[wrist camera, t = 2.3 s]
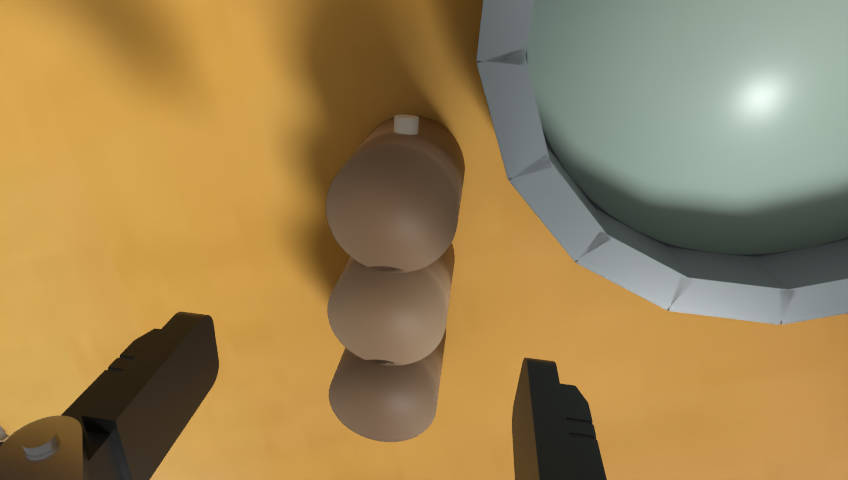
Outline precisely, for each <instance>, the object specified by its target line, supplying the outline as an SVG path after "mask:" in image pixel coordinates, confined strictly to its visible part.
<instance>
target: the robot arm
mask: <svg viewBox="0 0 848 480" xmlns="http://www.w3.org/2000/svg"><path fill="white" fill-rule="evenodd" d="M218 368H219V359H218V352H217V345H216V338H215V331H214V324H213V320H212V318H211V317H210V316H209V315H203V314H195V313H187V312H178V313H176V314H175V315H174V316H173V317H172V318H171V319H170V320H169V322H168V323H167V324H166V325H165V326H164V327H163V328H162V329H153V330H151V331H150V332H148V333H146V334H145V335H143V336H141V337H139V338H138V339H136V340H134V341H133V342H132V343H131V344H130V345H129V346H128V347H127V348H126V349H125V350H124V352H123V353H122V354H121V355H120V358H117V359H116V360H115V361H114V362H113V363H112V364H111V365H110V366H109V367H108V370H105V371H104V372H103V373H102V374H101V375H100V376H99V377H98V378H97V379H96V380H95V381H94V382H93V383H92V384H91V385H90V386H89V387H88V388H87V389H86V390H85V391H84V392H83V393H82V394H81V395H80V396H79V397H78V398H77V399H76V400H75V402H74V403H73V404H72V405H71V406H70V407H69V408H68V409H67V410H66V411H65V412H64V413H63V414H62V415H61V416H51V417H46V418H42V419H39V420H36V421H34V422H32V423H29V424H27V425H25V426H24V427H22V428H20V429H19V430H17V431H16V432H14V433H13V434H12V435H11V436H10V437H9V438H8V439H7V440H6V441H4V442H0V480H149V479H150V478H151V477H152V475H153V474H154V472H155V471H156V469H157V468H158V466H159V465H160V463H161V462H162V460H163V459H164V457H165V456H166V454H167V453H168V451H169V450H170V448H171V447H172V445H173V444H174V442H175V441H176V440H177V438H178V437H179V435H180V434H181V432H182V431H183V429H184V428H185V426H186V425H187V423H188V422H189V420H190V419H191V417H192V416H193V414H194V413H195V411H196V410H197V408H198V407H199V406H200V404H201V403H202V401H203V400H204V398H205V397H206V395H207V394H208V392H209V391H210V389H211V388H212V386H213V384H214V382H215V380H216V377H217V374H218ZM512 435H513V452H514V469H515V480H607V479H606V475H605V471H604V467H603V463H602V458H601V454H600V450H599V446H598V442H597V440H596V434H595V430H594V425H592V417H591V413H590V409H589V405H588V402H587V401H586V399H585V398H584V397H583V395H582V394H581V393H580V391H579V390H578V389H577V387H576V386H573V385H566V384H560V383H559V377H558V372H557V366H556V363H555V362H554V361H547V360H539V359H531V358H524V360H523V363H522V368H521V373H520V377H519V382H518V387H517V391H516V396H515V401H514V406H513V415H512Z"/></svg>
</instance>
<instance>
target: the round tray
mask: <svg viewBox="0 0 848 480" xmlns="http://www.w3.org/2000/svg"><path fill="white" fill-rule="evenodd" d="M476 61H477V67H478V70H479V74H480V78H481V81H482V85H483V89H484V93H485V96H486V100H487V104H488V107H489V111H490V115H491V118H492V122H493V126H494V130H495V133H496V137H497V141H498V144H499V148H500V152H501V155H502V159H503V163H504V167H505V170H506V174H507V178H508V179H509V181H510V183H511V184H512V185H513V186H514V188H515V189H516V190H517V191H518V193H519V194H520V195H521V196H522V197H523V199H524V200H525V201H526V202H527V204H528V205H529V206H530V207H531V209H532V210H533V211H534V212H535V213H536V215H537V216H538V217H539V218H540V220H541V221H542V222H543V223H544V225H545V226H546V227H547V228H548V230H549V231H550V232H551V233H552V234H553V236H554V237H555V238H556V239H557V241H558V242H559V243H560V244H561V246H562V247H563V248H564V249H565V250H566V252H567V253H568V254H569V255H570V257H571V258H572V259H573V260H574V262H576V263H577V264H579V265H581V266H583V267H585V268H587V269H589V270H590V271H592V272H594V273H596V274H598V275H600V276H602V277H604V278H606V279H608V280H610V281H612V282H614V283H615V284H617V285H619V286H621V287H623V288H625V289H627V290H629V291H631V292H633V293H635V294H637V295H639V296H640V297H642V298H644V299H646V300H648V301H650V302H652V303H654V304H656V305H658V306H660V307H662V308H664V309H665V310H667V309H668V310H669V311H674V312H682V313H690V314H698V315H706V316H714V317H722V318H730V319H738V320H746V321H754V322H762V323H770V324H778V325H779V324H780V323H781V324H788V323H794V322H800V321H806V320H811V319H817V318H823V317H829V316H835V315H841V314H846V313H848V0H483V7H482V16H481V24H480V33H479V42H478V51H477V59H476Z"/></svg>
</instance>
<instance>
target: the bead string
mask: <svg viewBox="0 0 848 480" xmlns="http://www.w3.org/2000/svg"><path fill="white" fill-rule="evenodd" d="M464 171H465V166H464V158H463V154H462V151H461V149H460V146H459V145H458V143H457V141H456V140H455V138H454V137H453V135H452V134H451V133H450V132H449V131H448V130H447V129H445V128H444V127H443V126H442V125H440V124H438V123H437V122H435V121H433V120H431V119H428V118H425V117H421V116H415V115H409V114H398V115H395V116H394V118H391V119H389V120H387V121H385V122H383V123H381V124H380V125H379V126H377V127H376V128H375V129H374V130H373V131H372V132H371V133H370V134H369V136H368V137H367V138H366V139H365V140H364V142H363V143H362V144H361V145H360V146H359V148H358V149H357V150H356V151H355V153H354V154H353V155H352V156H351V157H350V159H349V160H348V161H347V162H346V163H345V165H344V166H343V167H342V168H341V169H340V171H339V172H338V173H337V175H336V176H335V177H334V179H333V181H332V183H331V185H330V188H329V190H328V194H327V199H326V214H327V220H328V224H329V227H330V229H331V232H332V234H333V236H334V238H335V239H336V241H337V242H338V244H339V245H340V246H341V247H342V249H343V250H344V251H345V252H346V253H347V254H348V255H350V258H349V260H348V262H347V264H346V266H345V268H344V270H343V272H342V274H341V275H340V277H339V279H338V281H337V283H336V285H335V287H334V289H333V291H332V293H331V295H330V298H329V302H328V319H329V323H330V326H331V328H332V330H333V332H334V334H335V336H336V337H337V338H338V340H339V341H340V342H341V343H342V344H343V345H344V346H345V347H346V348H345V350H344V353H343V355H342V358H341V360H340V362H339V365H338V367H337V370H336V372H335V375H334V377H333V380H332V382H331V385H330V389H329V401H330V404H331V407H332V409H333V411H334V413H335V415H336V416H337V418H338V419H339V420H340V421H341V422H342V423H343V424H344V425H345V426H346V427H348V428H349V429H350V430H352V431H353V432H355V433H357V434H359V435H361V436H363V437H366V438H369V439H372V440H377V441H383V442H398V441H404V440H408V439H411V438H414V437H416V436H418V435H419V434H421V433H423V432H424V431H425V430H426V429H427V428H428V427H429V426H430V425H431V423H432V421H433V419H434V417H435V413H436V407H437V399H438V392H439V384H440V376H441V368H442V361H443V353H444V345H445V338H446V328H445V327H446V320H447V312H448V305H449V297H450V290H451V282H452V275H453V268H454V249H453V245H452V243H451V242H452V240H453V238H454V235H455V232H456V228H457V222H458V215H459V208H460V201H461V194H462V187H463V180H464Z"/></svg>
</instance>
